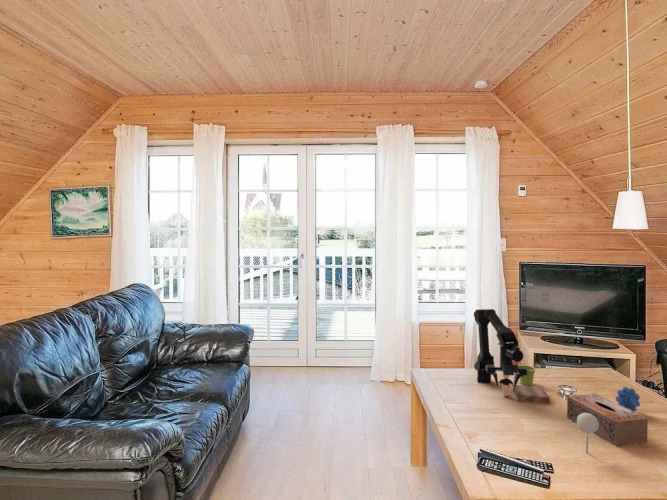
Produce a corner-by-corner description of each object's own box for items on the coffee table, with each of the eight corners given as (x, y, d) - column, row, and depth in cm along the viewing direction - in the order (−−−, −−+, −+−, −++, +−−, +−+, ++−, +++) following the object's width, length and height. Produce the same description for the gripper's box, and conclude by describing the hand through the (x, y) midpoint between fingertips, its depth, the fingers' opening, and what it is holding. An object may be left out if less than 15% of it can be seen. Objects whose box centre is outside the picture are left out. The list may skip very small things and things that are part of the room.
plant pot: (512, 382, 234) (513, 366, 234) (525, 379, 238) (525, 364, 238) (527, 387, 226) (527, 371, 225) (539, 385, 230) (539, 369, 229)
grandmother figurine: (511, 394, 217) (511, 370, 216) (515, 397, 213) (515, 372, 212) (496, 395, 216) (496, 370, 216) (499, 398, 212) (500, 373, 212)
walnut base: (518, 401, 209) (518, 395, 208) (512, 390, 222) (512, 384, 222) (549, 403, 206) (549, 397, 205) (541, 392, 219) (541, 386, 219)
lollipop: (578, 446, 166) (578, 408, 165) (599, 451, 161) (600, 412, 160) (574, 453, 160) (575, 414, 159) (596, 459, 156) (597, 419, 155)
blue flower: (623, 417, 190) (623, 390, 189) (611, 411, 197) (612, 385, 196) (647, 415, 191) (647, 389, 191) (634, 409, 198) (635, 384, 197)
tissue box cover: (647, 443, 168) (647, 418, 167) (615, 447, 165) (616, 421, 165) (594, 415, 193) (595, 393, 193) (566, 418, 190) (567, 396, 190)
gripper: (488, 359, 208) (488, 391, 208) (530, 361, 204) (529, 394, 204) (485, 353, 219) (485, 383, 219) (524, 355, 215) (524, 385, 215)
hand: (505, 386), depth 214 cm, fingers closed on grandmother figurine, 8 cm apart
